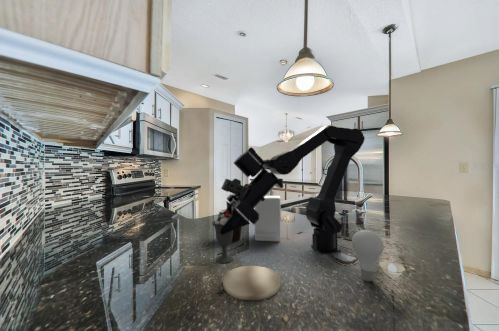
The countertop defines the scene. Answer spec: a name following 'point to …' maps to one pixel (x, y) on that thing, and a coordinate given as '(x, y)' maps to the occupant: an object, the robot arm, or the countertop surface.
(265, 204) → the supplement box
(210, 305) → the countertop surface
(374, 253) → the lightbulb
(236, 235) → the coffee mug
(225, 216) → the sundae
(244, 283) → the coaster
